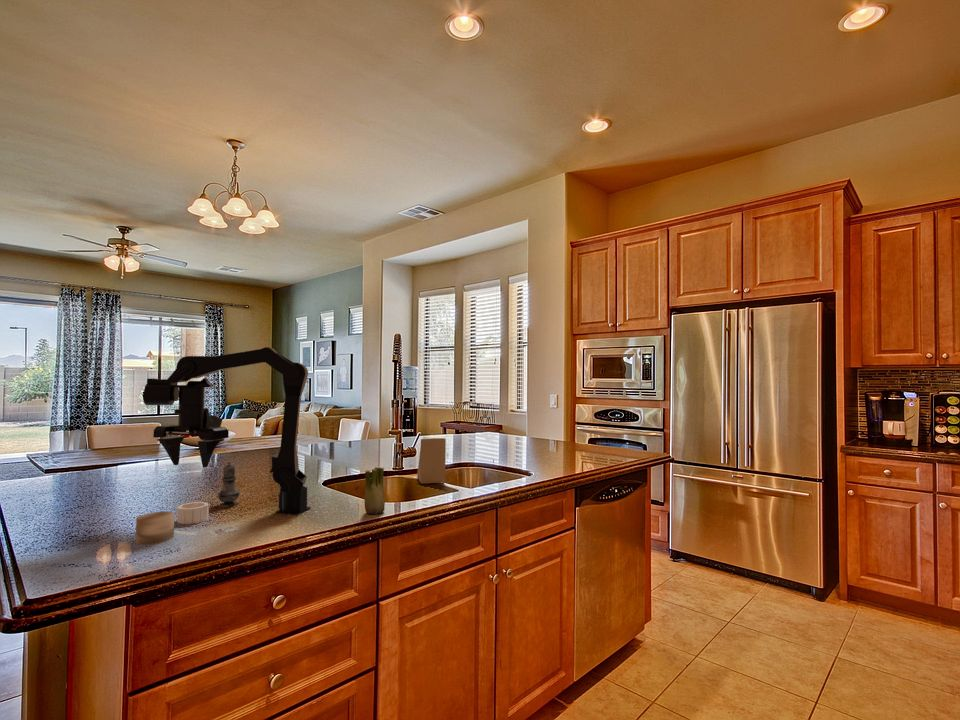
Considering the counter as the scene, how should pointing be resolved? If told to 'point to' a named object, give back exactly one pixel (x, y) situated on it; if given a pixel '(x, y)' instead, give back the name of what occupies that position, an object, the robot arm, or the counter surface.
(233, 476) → the salt shaker
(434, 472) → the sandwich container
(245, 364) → the robot arm
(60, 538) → the counter surface
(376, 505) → the fennel bulb
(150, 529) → the beige rounded cylinder
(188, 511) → the bowl
